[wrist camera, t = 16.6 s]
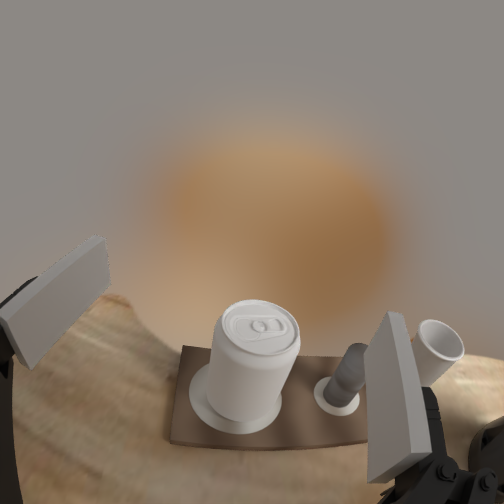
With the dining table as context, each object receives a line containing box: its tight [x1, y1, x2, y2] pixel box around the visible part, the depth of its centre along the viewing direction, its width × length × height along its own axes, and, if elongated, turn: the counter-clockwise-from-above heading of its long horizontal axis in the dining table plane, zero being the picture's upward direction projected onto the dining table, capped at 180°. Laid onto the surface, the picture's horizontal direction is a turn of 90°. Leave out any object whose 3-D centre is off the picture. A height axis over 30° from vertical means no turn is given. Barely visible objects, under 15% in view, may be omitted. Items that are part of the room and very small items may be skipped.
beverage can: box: [206, 300, 300, 422], centre depth 29 cm, size 8×8×12 cm
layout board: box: [170, 343, 368, 451], centre depth 31 cm, size 26×14×9 cm, turn 92°
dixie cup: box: [411, 320, 464, 387], centre depth 35 cm, size 8×8×10 cm
